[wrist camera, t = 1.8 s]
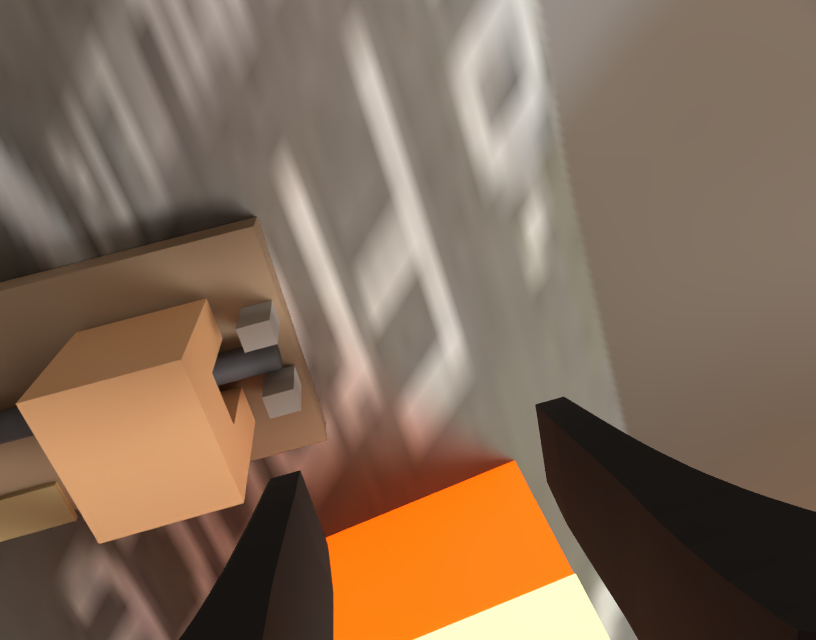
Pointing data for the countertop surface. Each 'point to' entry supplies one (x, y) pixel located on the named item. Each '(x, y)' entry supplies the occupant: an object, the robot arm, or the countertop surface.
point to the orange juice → (459, 570)
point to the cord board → (138, 295)
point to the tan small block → (143, 422)
